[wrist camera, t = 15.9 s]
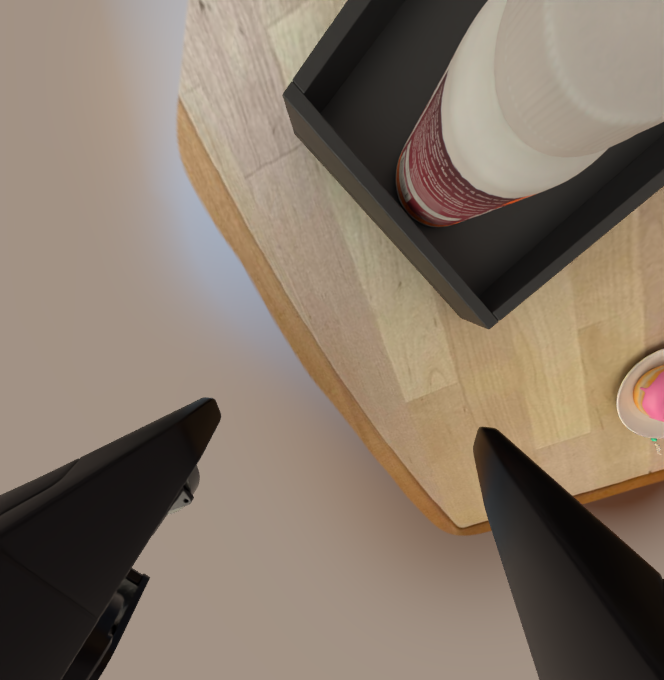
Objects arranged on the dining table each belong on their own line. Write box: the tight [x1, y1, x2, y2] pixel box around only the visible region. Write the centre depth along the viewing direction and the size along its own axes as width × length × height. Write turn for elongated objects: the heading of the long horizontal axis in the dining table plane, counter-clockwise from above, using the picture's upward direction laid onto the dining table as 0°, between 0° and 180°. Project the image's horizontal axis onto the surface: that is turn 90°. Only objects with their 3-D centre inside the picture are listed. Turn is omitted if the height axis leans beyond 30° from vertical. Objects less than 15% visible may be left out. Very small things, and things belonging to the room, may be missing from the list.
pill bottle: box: [396, 0, 664, 227], centre depth 10 cm, size 6×6×11 cm
